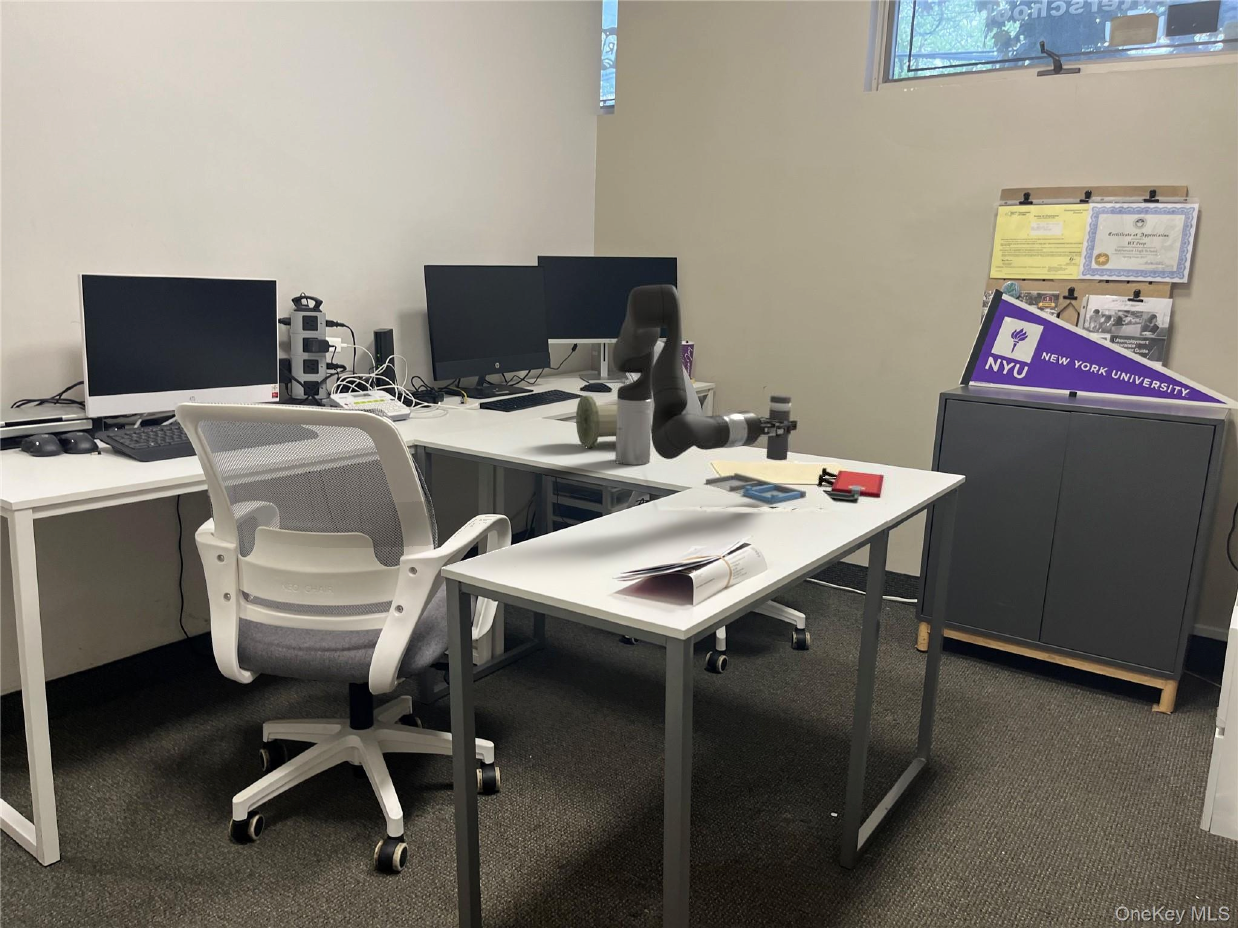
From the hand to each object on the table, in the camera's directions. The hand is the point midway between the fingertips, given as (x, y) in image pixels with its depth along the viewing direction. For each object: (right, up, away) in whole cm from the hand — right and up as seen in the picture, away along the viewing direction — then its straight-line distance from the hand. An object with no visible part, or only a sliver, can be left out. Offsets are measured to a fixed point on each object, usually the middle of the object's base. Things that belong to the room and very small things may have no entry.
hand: (786, 423), depth 202 cm
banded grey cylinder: (-2, -8, 0) cm, 8 cm away
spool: (-40, -4, +61) cm, 73 cm away
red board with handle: (+19, -16, +17) cm, 30 cm away
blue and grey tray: (-6, -16, +7) cm, 19 cm away
